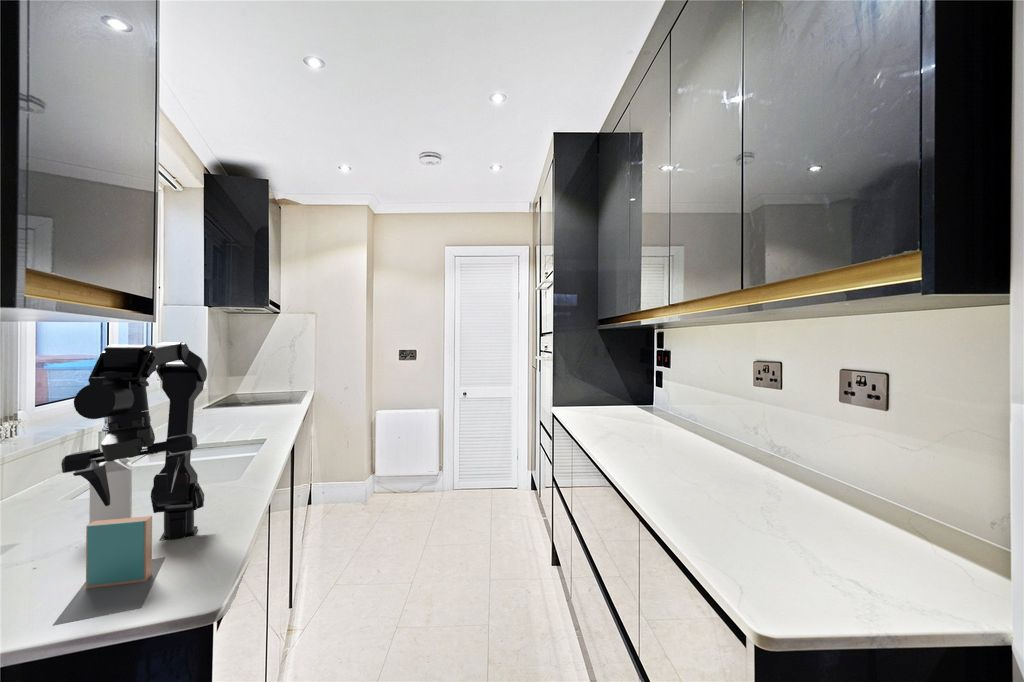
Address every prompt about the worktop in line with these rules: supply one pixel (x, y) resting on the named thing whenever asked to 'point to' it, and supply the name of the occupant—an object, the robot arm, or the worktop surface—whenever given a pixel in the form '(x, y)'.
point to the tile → (118, 551)
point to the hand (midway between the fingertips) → (139, 499)
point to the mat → (108, 598)
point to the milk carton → (114, 492)
